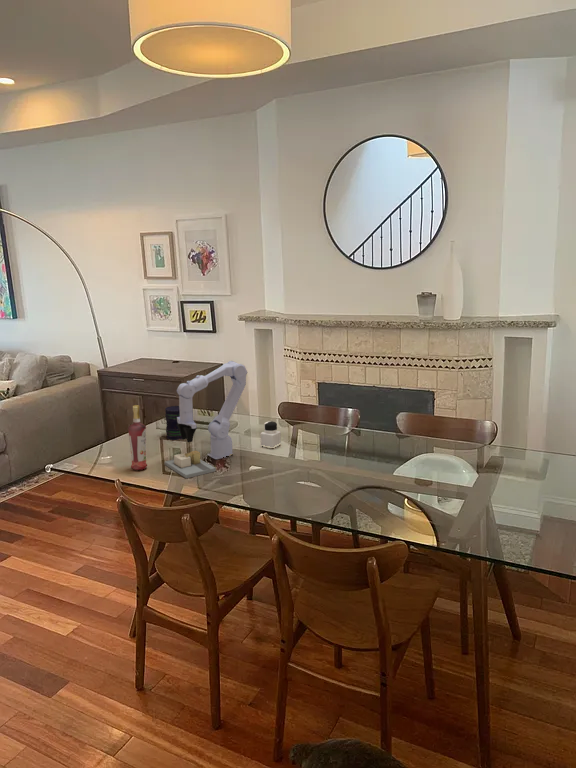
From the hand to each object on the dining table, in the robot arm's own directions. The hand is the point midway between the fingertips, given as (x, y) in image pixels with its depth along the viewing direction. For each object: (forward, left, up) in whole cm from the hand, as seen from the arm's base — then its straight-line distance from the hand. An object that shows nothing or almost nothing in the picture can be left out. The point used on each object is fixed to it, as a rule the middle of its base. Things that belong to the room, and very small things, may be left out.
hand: (187, 440), depth 261 cm
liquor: (+21, -4, -10) cm, 24 cm away
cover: (+6, +6, -8) cm, 11 cm away
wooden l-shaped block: (+1, +7, -8) cm, 11 cm away
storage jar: (-12, -35, -10) cm, 39 cm away
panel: (+3, +8, -10) cm, 13 cm away
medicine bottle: (-42, +5, -10) cm, 43 cm away
